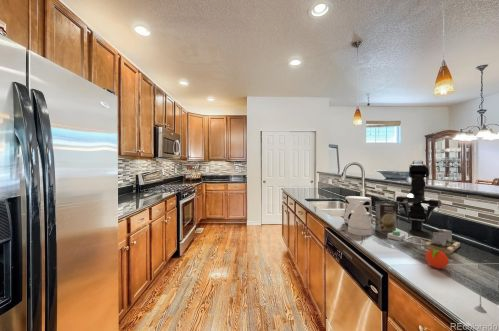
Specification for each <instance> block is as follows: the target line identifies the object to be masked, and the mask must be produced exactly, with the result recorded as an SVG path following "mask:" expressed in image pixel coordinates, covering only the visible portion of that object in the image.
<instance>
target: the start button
mask: <svg viewBox="0 0 499 331" xmlns="http://www.w3.org/2000/svg"><path fill="white" fill-rule="evenodd" d="M400 234H401V232H400V231H399V230H396V231H393V235H397V236H399V235H400Z"/></svg>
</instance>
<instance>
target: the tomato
mask: <svg viewBox="0 0 499 331" xmlns="http://www.w3.org/2000/svg"><path fill="white" fill-rule="evenodd" d="M425 260H426V263H427V264H428V265H429V266H431V267H432V268H435V269H444V268H446V267H448V264H449V257H448V256H447V253H443V252H442V251H440V250H437V249H432V250H431V249H428V250H427V252H426V253H425Z"/></svg>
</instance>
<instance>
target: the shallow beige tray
mask: <svg viewBox="0 0 499 331" xmlns="http://www.w3.org/2000/svg"><path fill="white" fill-rule="evenodd" d="M430 240H431V241H429V240H428V241H429V242H428V241H426V242H427V243H426V242H424V243H425V244H424V243H423V244H424V246H423V248H424V249H428V250H432V249H437V250H440V251H442V252H443V253H445V254H446V255H447V254H448V255H450V254H452V253H453V252H455V251H456V250H457V249H458V248H460V247H461V242H458V241H454V240H453V241H452V245H450V244H446V249H444V248H440V247H435V246H433V239H430Z"/></svg>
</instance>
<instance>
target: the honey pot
mask: <svg viewBox="0 0 499 331" xmlns="http://www.w3.org/2000/svg"><path fill="white" fill-rule="evenodd" d="M359 203H360V204H358V205H357V206H356V207H355V208H354V210H353V211H351V213H352V214H351V216H350V219H349V221H348V224H347V232H348V233H349V232H350V234H353V235H355V236H360V237H361V236H365V237H367V236H369V235H370V236H371V235H372V234H373V223H371V221H370V220H371V219H370V218H369V214H370V213H369V212H367V210H366V208H365V207H364V206H363V203H364V201H359Z"/></svg>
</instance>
